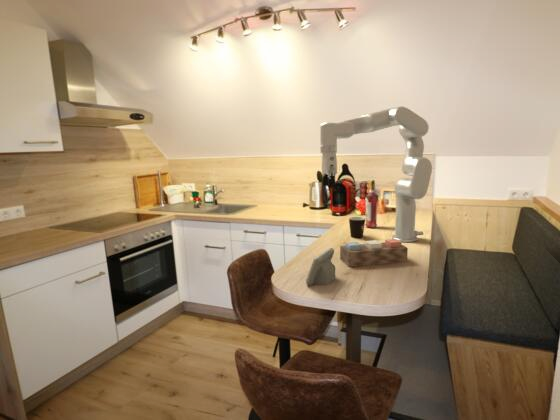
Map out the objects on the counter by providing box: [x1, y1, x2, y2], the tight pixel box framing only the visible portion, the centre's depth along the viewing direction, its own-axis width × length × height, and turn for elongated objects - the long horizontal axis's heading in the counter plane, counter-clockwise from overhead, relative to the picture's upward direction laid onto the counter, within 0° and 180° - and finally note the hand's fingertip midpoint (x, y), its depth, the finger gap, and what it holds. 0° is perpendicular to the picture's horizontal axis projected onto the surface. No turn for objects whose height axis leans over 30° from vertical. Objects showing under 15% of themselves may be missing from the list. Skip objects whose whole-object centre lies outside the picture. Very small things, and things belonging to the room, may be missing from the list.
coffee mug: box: [348, 216, 366, 239], centre depth 194 cm, size 12×9×10 cm
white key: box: [365, 239, 383, 249], centre depth 153 cm, size 5×5×4 cm
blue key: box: [345, 241, 362, 251], centre depth 152 cm, size 5×5×4 cm
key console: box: [339, 242, 409, 267], centre depth 154 cm, size 26×10×6 cm, turn 100°
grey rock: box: [305, 247, 336, 286], centre depth 133 cm, size 16×9×11 cm, turn 140°
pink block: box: [384, 238, 403, 248], centre depth 155 cm, size 5×5×4 cm
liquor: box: [364, 179, 379, 229], centre depth 212 cm, size 7×7×28 cm
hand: (328, 186), depth 171 cm, fingers open, 9 cm apart
